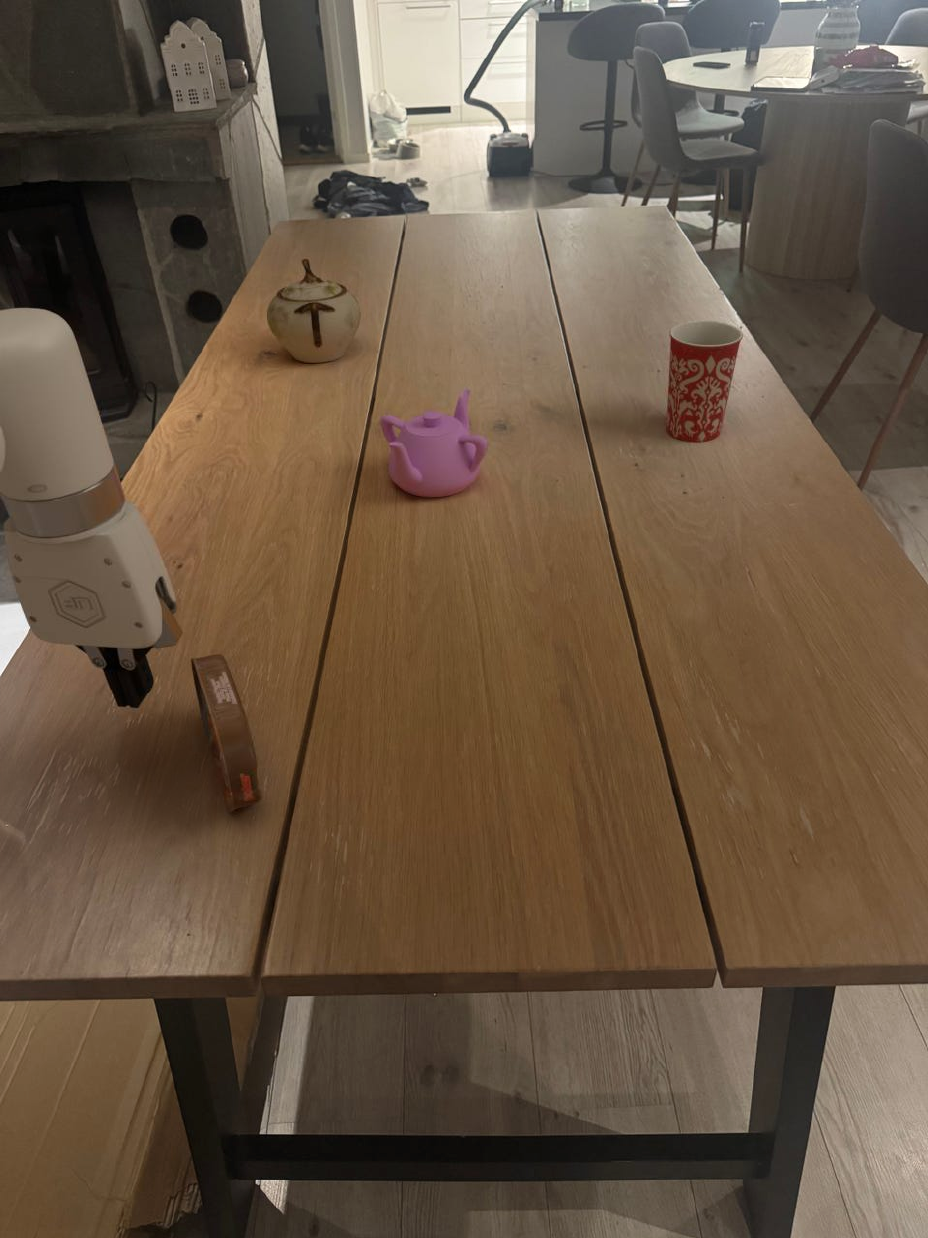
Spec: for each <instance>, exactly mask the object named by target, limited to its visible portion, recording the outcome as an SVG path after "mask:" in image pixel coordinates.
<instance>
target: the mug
mask: <svg viewBox="0 0 928 1238" xmlns="http://www.w3.org/2000/svg"><path fill="white" fill-rule="evenodd" d="M668 334H669V340H670V343H669V344H670V345H669V365H668V384H667V403H666V404H667V405H666V407H667V408H666V420H665V421H666V422H665V423H666V424H665V426H666V427H665V429H666V432H667V433H668V434H669V435H670V436H671V437H672V438H675V439H677V440H681V441H684V442H689V443H704V442H709V441H712V440H715V439H717V438H718V437H719V436H720V435H721V433H722V430H723V425H724V420H725V415H726V409H727V404H728V400H729V395H730V391H731V387H732V382H733V381H732V380H733V376H734V372H735V368H736V363H737V358H738V353H739V348H740V344H741V341H742V340H743V337H744V334H743V332H742V330H741V329H739V328H738V327H737V326H735V325H732V324H729V323H726V322H723V321H716V320H691V321H685V322H680V323H678V324H676V325H673V326H672V327H671V328H670V329H669V333H668Z"/></svg>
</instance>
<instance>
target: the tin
mask: <svg viewBox="0 0 928 1238" xmlns="http://www.w3.org/2000/svg"><path fill="white" fill-rule="evenodd" d="M190 664H191V672H192V677H193V678H192V679H193V682H194V687H195V692H196V697H197V701H198V707H199V711H200V718H201V721H202V726H203V730H204V734H205V737H206V740H207V744H208V748H209V750H210V755H211V757H212V761H213V764H214V768H215V771H216V774H217V777H218V782H219V785H220V788H221V791H222V795H223V798H224V802H225V804H226V807H227V809H228V811H229V812H233V811H234V810H236V809H240V808H244V807H248V806H251V805H254V804H256V803H259V802H260V801H261V800H262V799H263V793H262V790H261V789H260V784H259V778H258V758H257V753H256V747H255V744H254V739H253V736H252V732H251V728H250V725H249V722H248V718H247V716H246V712H245V709H244V706H243V703H242V700H241V697H240V694H239V691H238V688H237V685H236V683H235V680H234V677H233V675H232V673H231V670H230V667H229V665H228V662H227V660H226V658H225V656H224V655H223V654H221V653H219V654H211V655H206V656H202V657H201V656H200V657H197V658H195V657H191V658H190Z"/></svg>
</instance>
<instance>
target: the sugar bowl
mask: <svg viewBox="0 0 928 1238" xmlns="http://www.w3.org/2000/svg"><path fill="white" fill-rule="evenodd" d="M301 264H302V266H303V268H304V273H305V274H304V277H303V279H301V280H297V281H295V282H292V283H290V284H289V285H287V286H285V287H282V288H281V289H279V290H278V291H277V292H276V294H275V296H273V298H272V299H271V301H270V302H269V304H268V307H267V310H266V320H267V325H268V327H269V330H270V332H271V333H272V334H273V336H274V337H275V338H276V340H277V341H278V342H279V343H280V345H282V346H283V347H284V348H285V349H286V350H287V351H288V352H289V353H290V355H291V356H292V357H293V358H294V359H295V360H296V361H299V362H303V363H308V364H309V363H310V364H312V363H313V364H316V363H317V364H318V363H327V362H332V361H336V360H338V359H340V358H341V357H343V356H344V354H345V353H346V350H347V349H348V347H349V345H350V344H351V342H352V340H353V339H354V337H355V335H356V333H357V332H358V329H359V326H360V323H361V319H362V311H361V306H360V304H359V301H358V299H357V298H356V297H355V295H354V294H353V293H352V292H351V291H350V290H348V289H347V287H346V286H345V285H343V284H342V283H338V282H334V281H332V280H328V279H323V278H321V277H318V276H316V275H315V274H314V273H313V271H312V269H311V263H310V260H309V259H308V258H303V259H302V260H301Z"/></svg>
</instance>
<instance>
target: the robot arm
mask: <svg viewBox="0 0 928 1238" xmlns="http://www.w3.org/2000/svg"><path fill="white" fill-rule="evenodd" d="M0 500H1V501H2V502H3V504H4V506H5V509H6V511H7V514H8V518H7V519H6V520H5V521H4V523H3V536H4V543H5V551H6V557H7V562H8V566H9V570H10V574H11V578H12V583H13V585H14V588H15V591H16V594H17V598H18V600H19V603H20V606H21V610H22V611H23V615H24V617H25V619H26V622H27V624H28V626H29V629H30V630H31V633H32V634H33V635H34V636H35V638H37V639H38V640H41V641H43V642H46V643H50V644H55V645H67V646H74V647H76V648H77V649H78V650H80V651H82V653H85V654H86V655H87V657H88V659H89V661H90V663H91V664H92V665H93V666H94V667H95V668H98V669H102V672H103V674H104V677H105V679H106V682H107V685H108V687H109V690H110V691H111V692H112V695H113V698H114V700H115V703H116V706H117V707H119V708H126V707H128V706H129V707H130V709H139V708H140V707H141V705H142V703H143V702H144V700H145V698H146V697H147V695H148V694H150V692H151V691H152V689H153V687H154V683H155V682H154V681H155V680H154V675H153V673H152V670H151V667H150V664H149V660H148V658H147V654H149V653H150V651H151V650H152V649H165V648H171V647H175V646H176V645H177V644H178V642H179V641H180V639H181V637H182V636H183V634H184V632H183V630H182V628H181V626H180V625H179V623H178V621H177V619H176V618H175V616H174V614H176V613H177V610H178V605H177V600H176V595H175V590H174V587H173V584H172V582H171V578H170V576H169V573H168V569H167V568H166V565H165V562H164V560H163V557H162V555H161V552H160V550H159V548H158V544H157V543H156V541H155V539H154V536H153V535H152V532H151V530H150V529H149V527H148V525H147V523H146V521H145V519H144V517H143V515H142V514H141V513H140V510H139V509H138V508H137V505H136V504H135V503H134V502H131V501H127V499H126V496H125V492H124V488H123V486H122V483H121V479H120V476H119V473H118V470H117V467H116V463H115V460H114V457H113V454H112V451H111V448H110V444H109V441H108V437H107V434H106V431H105V428H104V424H103V422H102V419H101V415H100V412H99V409H98V405H97V402H96V399H95V397H94V393H93V390H92V386H91V383H90V379H89V377H88V374H87V370H86V367H85V364H84V361H83V358H82V355H81V352H80V348H79V345H78V342H77V340H76V337H75V334H74V331H73V330H72V328H71V326H70V324H69V323H68V322H67V321H66V320H65V319H64V318H63V317H61V316H60V315H59V314H57V313H55V312H52V311H50V310H47V309H45V308H44V309H43V308H33V307H31V308H30V307H16V308H15V307H14V308H7V309H0Z"/></svg>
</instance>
